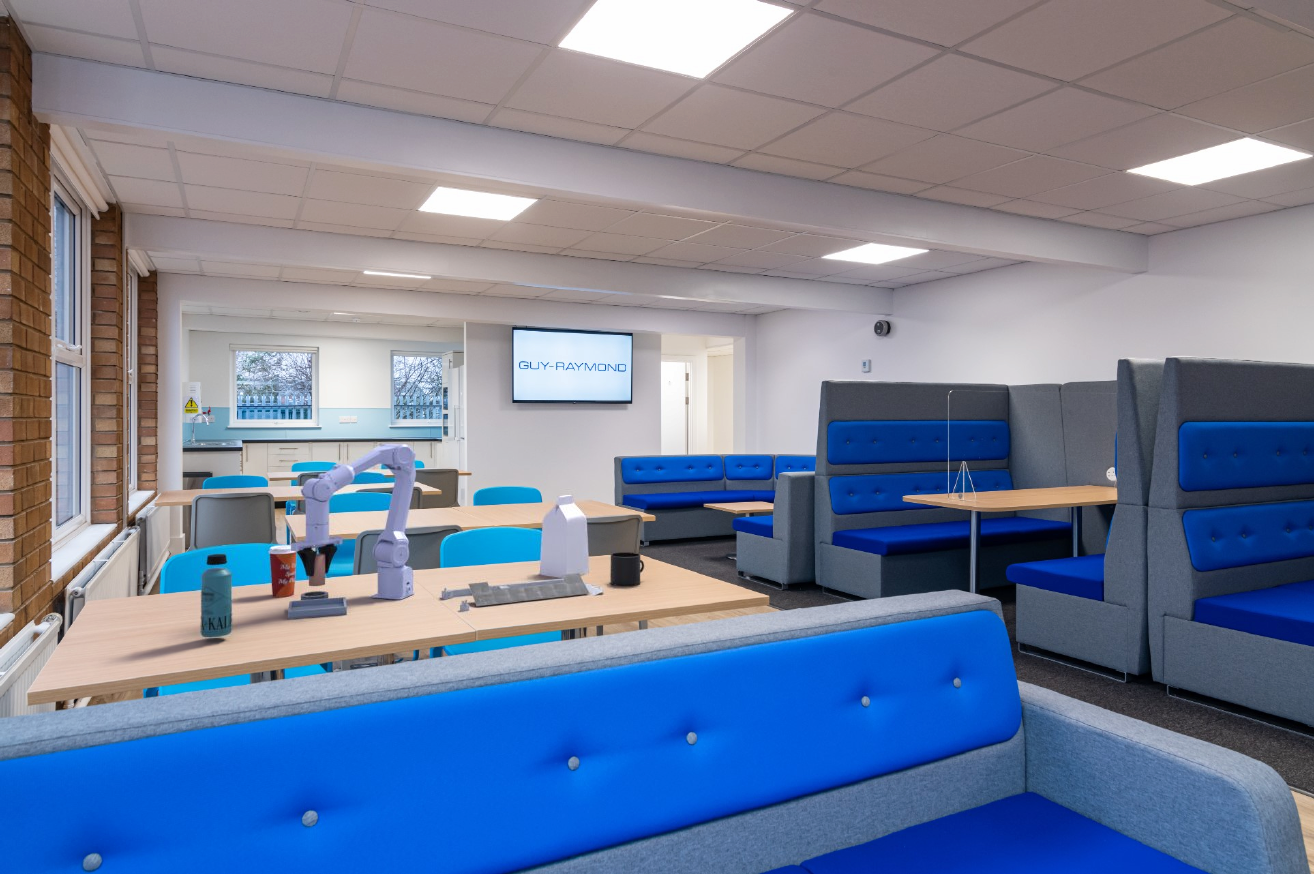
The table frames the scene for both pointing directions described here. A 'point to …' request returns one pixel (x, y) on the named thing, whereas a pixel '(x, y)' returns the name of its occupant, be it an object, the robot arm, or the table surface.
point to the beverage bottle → (216, 599)
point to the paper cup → (282, 570)
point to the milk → (564, 540)
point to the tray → (317, 608)
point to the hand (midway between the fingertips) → (317, 574)
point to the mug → (625, 568)
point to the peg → (318, 571)
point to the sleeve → (314, 595)
